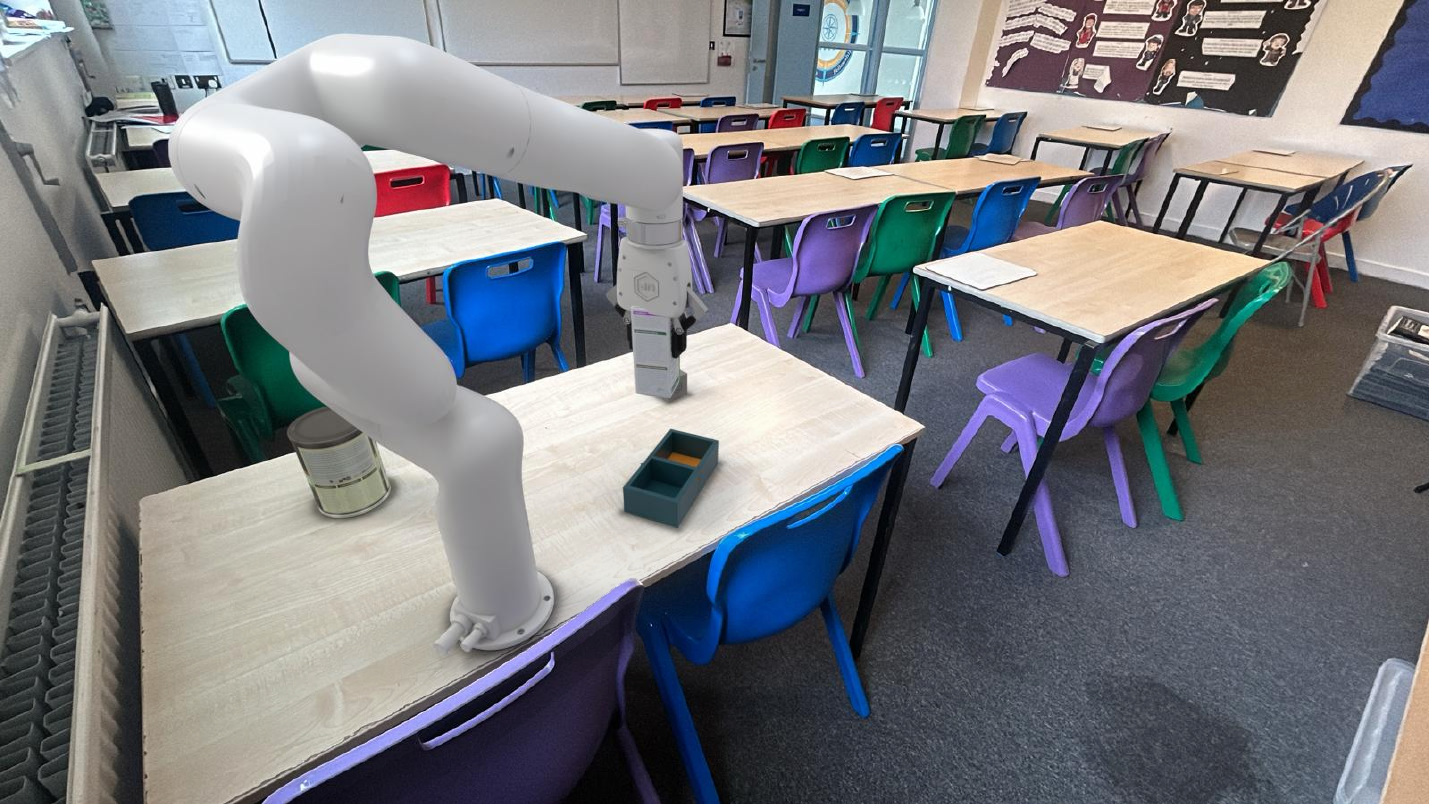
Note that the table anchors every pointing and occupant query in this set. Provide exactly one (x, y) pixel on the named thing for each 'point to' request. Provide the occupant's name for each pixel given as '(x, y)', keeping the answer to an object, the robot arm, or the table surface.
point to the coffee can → (339, 463)
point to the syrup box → (653, 354)
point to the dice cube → (679, 388)
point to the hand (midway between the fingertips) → (656, 349)
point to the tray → (671, 477)
